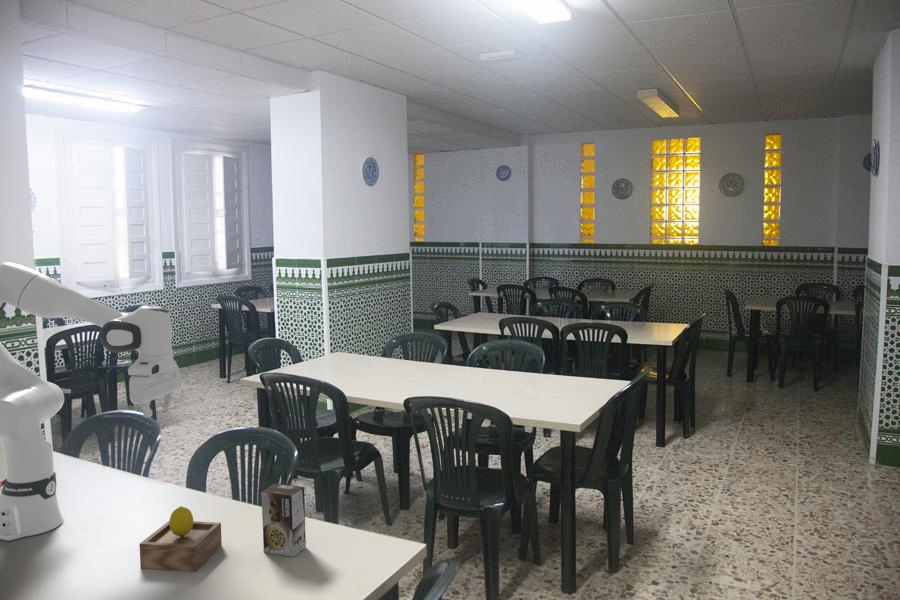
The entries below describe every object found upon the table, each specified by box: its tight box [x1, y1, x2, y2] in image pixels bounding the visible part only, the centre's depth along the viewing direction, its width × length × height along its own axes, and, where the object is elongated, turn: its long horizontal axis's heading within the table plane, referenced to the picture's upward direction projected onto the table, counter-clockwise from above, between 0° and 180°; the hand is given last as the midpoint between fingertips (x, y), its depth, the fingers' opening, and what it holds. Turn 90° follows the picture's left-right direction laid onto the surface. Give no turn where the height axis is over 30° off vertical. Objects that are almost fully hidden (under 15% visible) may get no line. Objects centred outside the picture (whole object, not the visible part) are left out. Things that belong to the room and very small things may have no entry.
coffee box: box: [260, 483, 307, 558], centre depth 177 cm, size 9×6×16 cm
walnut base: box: [139, 519, 223, 573], centre depth 173 cm, size 14×14×6 cm
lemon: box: [169, 505, 194, 538], centre depth 173 cm, size 6×6×8 cm
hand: (157, 412), depth 194 cm, fingers open, 8 cm apart
